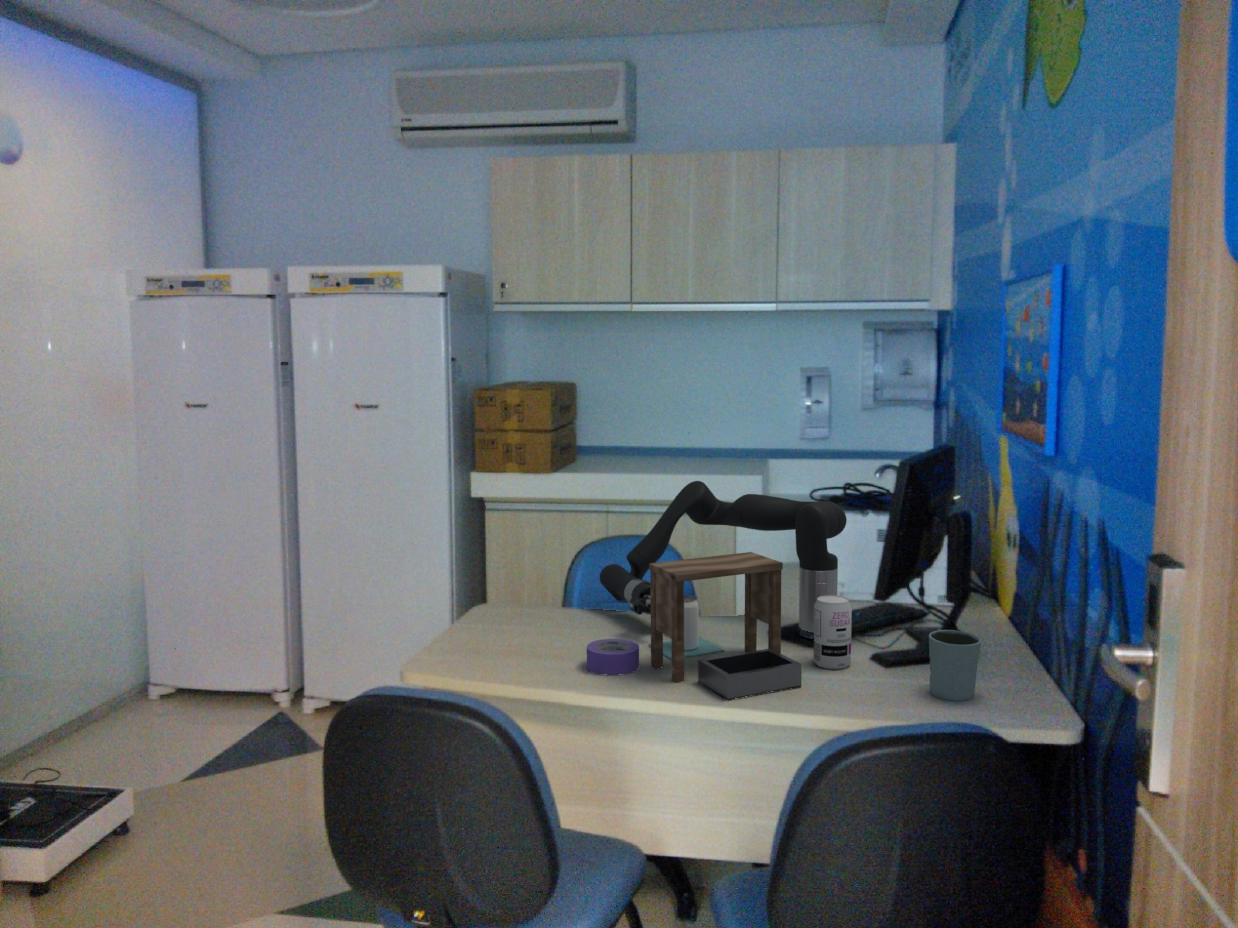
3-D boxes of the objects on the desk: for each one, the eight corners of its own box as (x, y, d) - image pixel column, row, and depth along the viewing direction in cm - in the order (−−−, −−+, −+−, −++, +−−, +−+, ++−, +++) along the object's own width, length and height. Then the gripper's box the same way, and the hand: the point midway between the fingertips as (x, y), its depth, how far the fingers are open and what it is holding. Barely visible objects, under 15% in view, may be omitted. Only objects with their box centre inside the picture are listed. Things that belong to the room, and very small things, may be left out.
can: (680, 652, 228) (679, 602, 227) (666, 645, 234) (666, 596, 232) (703, 648, 231) (703, 599, 229) (689, 641, 237) (689, 593, 235)
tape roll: (639, 659, 226) (639, 638, 225) (639, 676, 214) (638, 653, 213) (588, 659, 226) (587, 638, 225) (585, 676, 214) (584, 654, 214)
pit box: (698, 682, 209) (698, 660, 208) (769, 670, 216) (769, 648, 215) (727, 700, 198) (727, 676, 197) (801, 687, 205) (801, 664, 205)
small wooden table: (650, 665, 220) (649, 563, 217) (750, 649, 231) (751, 552, 228) (677, 683, 208) (676, 575, 206) (781, 665, 219) (782, 562, 216)
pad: (648, 646, 235) (648, 644, 235) (699, 638, 241) (699, 636, 241) (671, 660, 224) (671, 658, 224) (724, 651, 230) (724, 650, 230)
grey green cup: (935, 682, 207) (937, 627, 206) (985, 691, 202) (987, 634, 200) (920, 696, 199) (922, 639, 198) (971, 706, 193) (973, 647, 192)
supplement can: (826, 656, 225) (827, 592, 224) (857, 664, 220) (859, 599, 218) (806, 664, 220) (806, 599, 218) (837, 673, 214) (838, 606, 212)
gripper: (668, 606, 255) (698, 622, 240) (618, 613, 249) (646, 629, 235) (668, 578, 254) (698, 592, 239) (618, 584, 248) (646, 598, 234)
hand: (672, 610), depth 237 cm, fingers open, 8 cm apart
